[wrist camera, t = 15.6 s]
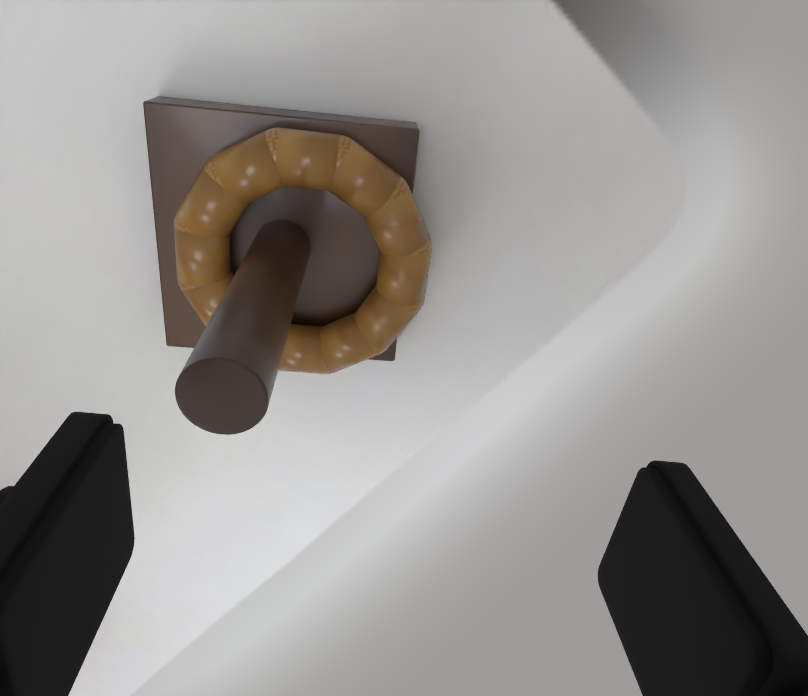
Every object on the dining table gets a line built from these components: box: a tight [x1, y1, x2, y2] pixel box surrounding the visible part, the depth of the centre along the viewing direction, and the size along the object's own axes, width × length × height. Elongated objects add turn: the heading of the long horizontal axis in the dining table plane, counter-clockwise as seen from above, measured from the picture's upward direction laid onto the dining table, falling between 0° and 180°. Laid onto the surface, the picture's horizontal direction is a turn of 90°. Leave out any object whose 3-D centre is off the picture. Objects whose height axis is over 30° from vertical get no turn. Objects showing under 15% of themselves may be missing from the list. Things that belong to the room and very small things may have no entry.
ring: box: [174, 128, 432, 374], centre depth 21 cm, size 9×9×2 cm
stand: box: [143, 97, 419, 434], centre depth 18 cm, size 9×9×12 cm
